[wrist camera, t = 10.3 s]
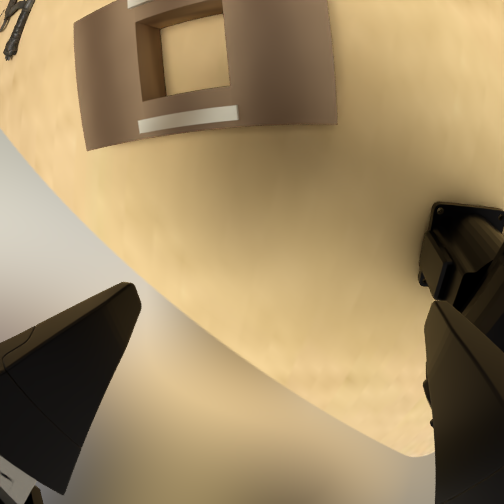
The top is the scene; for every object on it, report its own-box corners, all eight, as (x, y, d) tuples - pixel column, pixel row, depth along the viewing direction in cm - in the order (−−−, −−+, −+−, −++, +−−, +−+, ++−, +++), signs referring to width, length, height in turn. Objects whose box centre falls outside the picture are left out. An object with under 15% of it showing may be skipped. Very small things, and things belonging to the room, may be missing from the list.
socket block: (320, -25, 11) (318, -47, 8) (334, 120, 16) (337, 125, 13) (100, 26, 14) (70, 22, 12) (112, 142, 19) (84, 152, 17)
